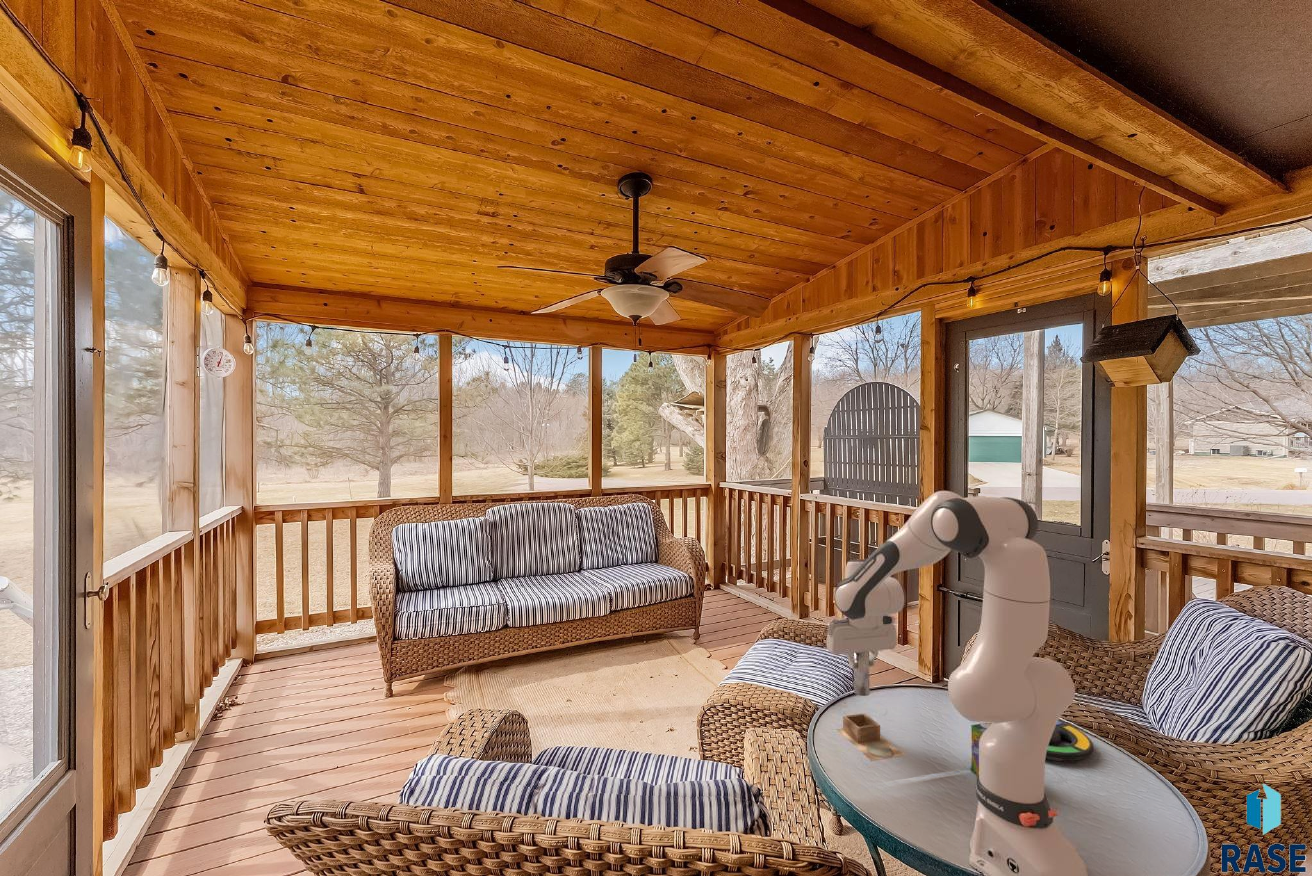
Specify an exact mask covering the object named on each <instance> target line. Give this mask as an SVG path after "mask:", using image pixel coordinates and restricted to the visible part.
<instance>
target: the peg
mask: <svg viewBox="0 0 1312 876" xmlns="http://www.w3.org/2000/svg"><path fill="white" fill-rule="evenodd" d="M869 656H870V652H869V651H865V652H858V653H854V657H853V660H854V661H856V662H857V668H854V669H853V688H854V689H853V692H854V694H855V695H857V696H860V697H861V696H862V697H866V696H870V693H871V692H870V691H871V690H870V667H869Z"/></svg>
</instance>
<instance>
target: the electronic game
mask: <svg viewBox="0 0 1312 876" xmlns="http://www.w3.org/2000/svg"><path fill="white" fill-rule="evenodd" d="M1064 737H1066V738H1067V739H1069V740H1070V741H1071V743H1070V744H1068V745H1061V743H1062V738H1064ZM1066 738H1065V739H1066ZM1067 739H1066V740H1067ZM1069 740H1068V741H1069ZM1070 741H1069V742H1070ZM1060 745H1061V746H1060ZM1093 752H1094V744H1093V742H1092V740H1091V738H1090V737H1089V736H1087V734H1085V733H1084V732H1083V731H1081V730H1080V729H1078V728H1076V727H1074V726H1073V725H1071V724H1068V723H1066V722H1064V721H1061V720H1060V719H1059V720H1058V722H1057V724H1056V726H1055V729H1054V731H1053V734H1052V736H1051V739H1050V742H1049V745H1048V748H1047V752H1046V758H1045V760H1049V761H1055V760H1056V762H1073V761H1077V760H1082V759H1085V758H1088V757H1089V756H1091V755H1092V754H1093Z"/></svg>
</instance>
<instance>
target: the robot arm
mask: <svg viewBox="0 0 1312 876" xmlns="http://www.w3.org/2000/svg"><path fill="white" fill-rule="evenodd" d="M1038 529H1039V519H1038V517H1037V514H1036V512H1035V510H1034V508H1032V506H1031V505H1030V504H1029V503H1027V502H1025V501H1023V500H1021V499H1018V498H1014V497H1007V496H1002V497H995V496H984V495H981V496H980V495H977V496H968V497H962V496H961V495H960V494H957V493H956V492H953V491H949V490H938V491H936V492H934V493H933V494H931V495H930V496H928V497H927V498H926V499H925V500H923V502H922V503H921V504H920V505H919V506H918V507H917V509H915V510H914V511H913V513H912V514H911V515H910V517H909V518H908V520H906V522H905V523H904V524H903V525H902V526H901V527H900V528H899V529H898V530H897V532H895V533H894V534H893V535H892V536H891V537H890V538H888V539H887V540H886V541H885V542H883V543H882V544H880V545H879V546H878V547H877V548H876V549H874V551H872V552H871V554H870V555H869V556H868V557H867V558H857V559H851V560H849V561H847V563H846V566H845V571H844V579H841V580H840V581H839V582H838V583H837V586H836V589H835V591H834V603H835V606H836V608H837V609H838V610H839V612H840V613H841V614H843V615H844V618H834V619H832V620H831V621H829V623H827V637H826V649H827V650H828V652H830V653H831V654H833V655H835V656H836V655H837V656H839V655H845V657H846V658H847V660H848V666H849V668H850V669H853V670H854V668H857V662H856V661H854V653H858V652H865V651H869V668H870V667H875V661H876V659H877V657H878V656H879V651H884V650H894V649H895V648H896V646H897V644H898V642H897V641H898V636H897V628H896V626H895V625H894V624H895V623H896V617H895V616H893V615H894V614H897V613H901V612H902V611H903V609H904V608H905V606H906V601H907V594H906V590H905V588H904V585H903V584H902V583H901V582H900V581H899V580H898V579H897V578H896V577H891V576H892V575H895V574H898V573H902V572H904V571H908V570H913V569H919V568H923V567H928V566H933V565H934V564H937V563H938V562H939V561H941V560H942V559H943V558H945V557H946V556H947V555H948V554H949V553H950V551H952V550H953V551H955V552H957V553H960V554H961V555H962V556H963V557H966V558H968V559H973V558H976V557H979V559H980V560H981V561H982V563H983V566H984V579H983V592H982V593H983V594H982V609H981V617H980V619H981V621H980V626H979V630H978V632H977V636H976V638H975V639H974V642H973V645H972V647H971V649H970V650H969V652H968V654H967V656H966V658H965V659H964V660H963V661H962V663H961V664H960V665H959V666H958V667H957V668H956V669H955V670H953V671H952V672H951V674H950V675H949V677H948V682H947V690H948V691H947V692H948V695H949V699H950V701H951V703H952V705H953V707H954V709H955V710H956V711H957V712H958V713H959V715H961V716H962V718H965V719H966V720H968V721H970V722H976V723H980V724H983V723H992V724H991V725H990V726H989V727H988V728H987V729H986V730H985V731H984V733H983V734H982V736H981V738H980V741H979V774H978V775H977V774H976V775H977V776H976V780H975V781H976V783H975V792H976V793H975V794H976V799H977V807H976V813H975V819H974V821H975V822H974V827H973V831H972V834H971V837H970V839H969V849H970V854H969V859H968V863H969V866H971V867H972V868H974V869H975V870H976V869H977V870H976V871H977V872H979V873H980V872H982V873H983V874H986V875H987V876H1089V873H1088V869H1087V866H1086V864H1085V862H1084V861H1083V859H1082V857H1081V856H1080V855H1079V854H1078V849H1077V847H1076V845H1075V844H1074V843H1073V842H1071V841H1069V840H1068V839H1067V837H1066V836H1065V835H1064V833H1063V832H1062V830H1061V829H1060V828H1059V827H1058V825H1057V824H1056V822H1055V821H1054V818H1055V817H1058V816H1059V814H1057V813H1058V812H1059V810H1058V809H1057V808H1056V809H1051V807H1050V803H1049V800H1048V796H1047V795H1046V792H1045V776H1046V775H1045V774H1046V773H1045V770H1046V759H1045V758H1046V752H1047V748H1048V745H1049V742H1050V739H1051V736H1052V734H1053V731H1054V729H1055V726H1056V724H1057V722H1058V720H1059V721H1060V718H1061V716H1062V715H1063V714H1064V712H1065V711H1066V710H1067V709H1068V708H1069V707H1070V706H1071V705H1072V704H1073V702H1074V700H1075V696H1076V689H1075V685H1074V681H1073V679H1072V677H1071V676H1070V673H1069V672H1068V671H1067V669H1065V667H1064V666H1062V665H1061V664H1060V663H1059V662H1058V661H1055V660H1053V659H1050V658H1044V657H1040V656H1039V657H1037V656H1034V655H1035V654H1036V652H1038V651H1039V649H1040V648H1041V647H1042V646H1043V645H1045V643H1046V641H1047V639H1048V634H1049V619H1050V601H1051V579H1050V567H1049V563H1048V556H1047V552H1046V550H1045V549H1044V547H1043V546H1041V544H1039V543H1037V542H1035V541H1034V540H1033V539H1034V538H1035V537H1036V535H1037V533H1038ZM982 873H981V874H982ZM983 874H982V875H983Z"/></svg>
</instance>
